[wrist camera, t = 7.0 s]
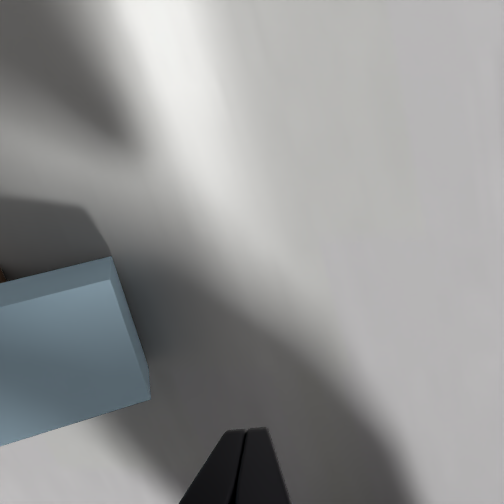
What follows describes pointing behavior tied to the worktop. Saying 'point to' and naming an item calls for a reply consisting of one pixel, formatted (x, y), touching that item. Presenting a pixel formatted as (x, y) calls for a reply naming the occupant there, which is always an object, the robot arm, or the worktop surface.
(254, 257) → the worktop surface
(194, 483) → the robot arm
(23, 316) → the domino
